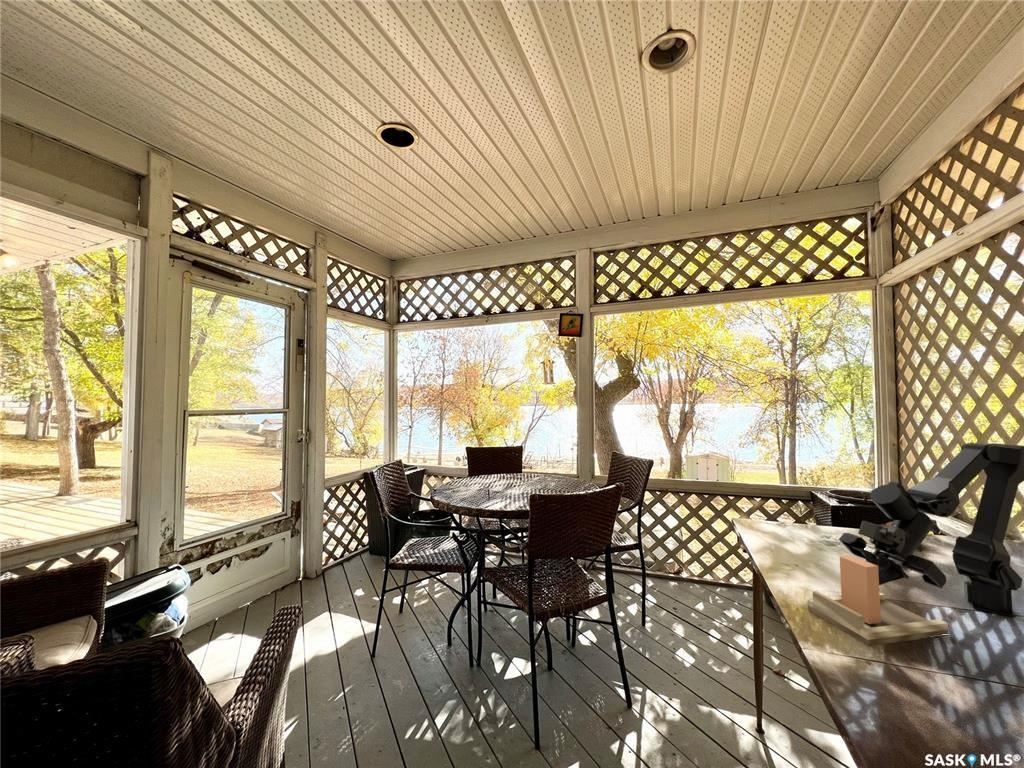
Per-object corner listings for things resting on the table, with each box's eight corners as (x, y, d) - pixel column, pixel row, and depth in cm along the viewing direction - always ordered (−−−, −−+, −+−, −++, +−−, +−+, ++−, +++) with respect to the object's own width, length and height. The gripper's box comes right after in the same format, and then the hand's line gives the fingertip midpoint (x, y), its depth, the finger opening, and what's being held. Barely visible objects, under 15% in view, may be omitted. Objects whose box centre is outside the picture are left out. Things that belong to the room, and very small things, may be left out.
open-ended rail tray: (878, 601, 98) (877, 581, 98) (948, 635, 84) (947, 610, 84) (807, 609, 95) (806, 588, 95) (868, 645, 81) (867, 620, 82)
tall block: (853, 608, 93) (850, 555, 93) (880, 622, 87) (878, 566, 87) (842, 609, 92) (839, 556, 92) (868, 624, 86) (866, 567, 87)
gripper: (843, 499, 100) (806, 547, 98) (932, 522, 82) (888, 581, 80) (872, 529, 101) (835, 577, 99) (965, 558, 83) (923, 618, 81)
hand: (866, 586), depth 90 cm, fingers closed, pressing on tall block
